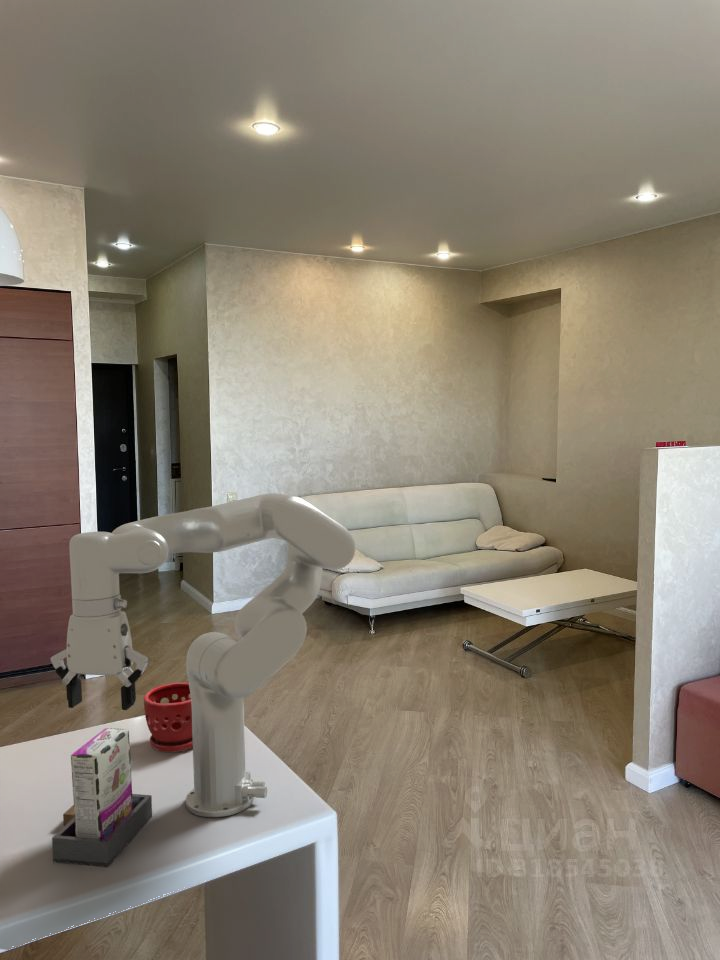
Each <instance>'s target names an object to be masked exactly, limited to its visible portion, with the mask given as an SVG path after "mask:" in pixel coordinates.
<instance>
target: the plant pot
mask: <svg viewBox="0 0 720 960" xmlns="http://www.w3.org/2000/svg"><path fill="white" fill-rule="evenodd" d="M173 695H176V696H177V698H176V699H174V698H173ZM190 695H191V694H190V688H189V682H172V683H167V684H163V685H159V686H157V687H154V688H152V689H150V690H149V691H147V692H146V694H145V695H144V697H143V707H144V709H143V710H144V717H145V721H146V725H147V728H148V730H149V732H150V734H151V736H150V737H149V743H150V744H151V746H152V747H153V748H155V750H158V751H160V752H166V753H178V752H179V753H180V752H183V751H187V750H189V749H193V738H192V706H191V696H190ZM165 698H166V699H168V703H161V701H162V700H163V699H165ZM183 698H185V699H184V700H183Z"/></svg>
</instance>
